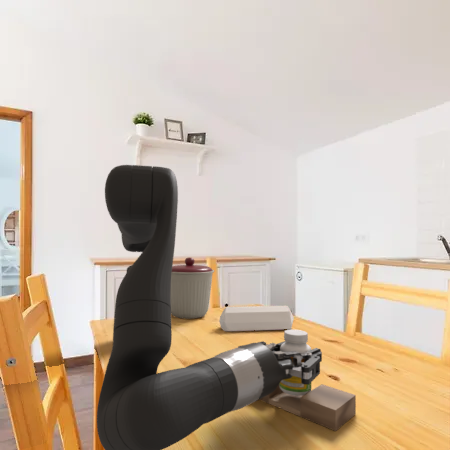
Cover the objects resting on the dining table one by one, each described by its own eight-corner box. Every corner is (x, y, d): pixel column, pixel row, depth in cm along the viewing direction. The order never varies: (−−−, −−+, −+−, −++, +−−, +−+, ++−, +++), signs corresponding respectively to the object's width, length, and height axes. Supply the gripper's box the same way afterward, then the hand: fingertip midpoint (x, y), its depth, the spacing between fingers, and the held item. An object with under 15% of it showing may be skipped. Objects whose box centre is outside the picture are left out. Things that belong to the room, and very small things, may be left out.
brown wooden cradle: (335, 431, 51) (335, 410, 51) (242, 392, 63) (242, 375, 63) (355, 414, 56) (355, 395, 56) (265, 381, 68) (265, 365, 68)
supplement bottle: (312, 398, 56) (312, 337, 56) (278, 394, 57) (279, 335, 58) (310, 385, 61) (311, 329, 62) (280, 381, 62) (280, 327, 63)
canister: (186, 324, 112) (187, 259, 113) (153, 315, 125) (154, 257, 125) (224, 315, 125) (224, 257, 126) (191, 308, 138) (191, 255, 139)
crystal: (287, 311, 116) (216, 313, 112) (294, 304, 110) (219, 306, 106) (291, 334, 112) (218, 336, 108) (298, 328, 106) (221, 330, 102)
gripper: (283, 361, 44) (342, 337, 57) (206, 338, 54) (270, 321, 67) (282, 421, 44) (342, 383, 56) (205, 387, 54) (270, 361, 66)
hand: (303, 350), depth 61 cm, fingers closed on supplement bottle, 5 cm apart
